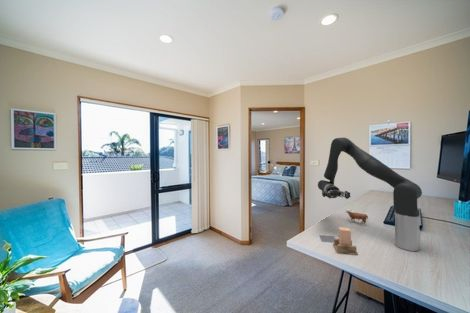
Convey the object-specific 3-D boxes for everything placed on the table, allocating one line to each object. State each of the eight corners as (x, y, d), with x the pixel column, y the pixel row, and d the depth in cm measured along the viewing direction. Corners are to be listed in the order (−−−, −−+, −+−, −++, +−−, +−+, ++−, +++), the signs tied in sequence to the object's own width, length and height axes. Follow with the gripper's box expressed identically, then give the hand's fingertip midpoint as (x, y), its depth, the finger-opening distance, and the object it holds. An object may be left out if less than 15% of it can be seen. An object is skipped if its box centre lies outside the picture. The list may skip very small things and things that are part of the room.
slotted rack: (351, 247, 97) (351, 239, 97) (357, 256, 90) (357, 247, 89) (332, 245, 100) (332, 238, 99) (337, 254, 92) (337, 245, 92)
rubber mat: (333, 236, 109) (333, 236, 109) (337, 243, 101) (337, 243, 101) (319, 235, 111) (319, 235, 111) (321, 242, 103) (321, 241, 103)
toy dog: (346, 219, 135) (346, 208, 134) (368, 224, 124) (368, 212, 124) (343, 220, 132) (343, 209, 132) (366, 226, 121) (366, 214, 121)
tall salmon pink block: (348, 247, 96) (348, 227, 95) (350, 250, 92) (350, 230, 92) (338, 246, 97) (338, 227, 96) (340, 249, 93) (340, 230, 93)
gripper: (319, 184, 121) (324, 190, 105) (343, 184, 117) (353, 190, 101) (319, 196, 121) (325, 203, 105) (344, 196, 117) (353, 204, 102)
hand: (338, 196), depth 103 cm, fingers open, 8 cm apart
